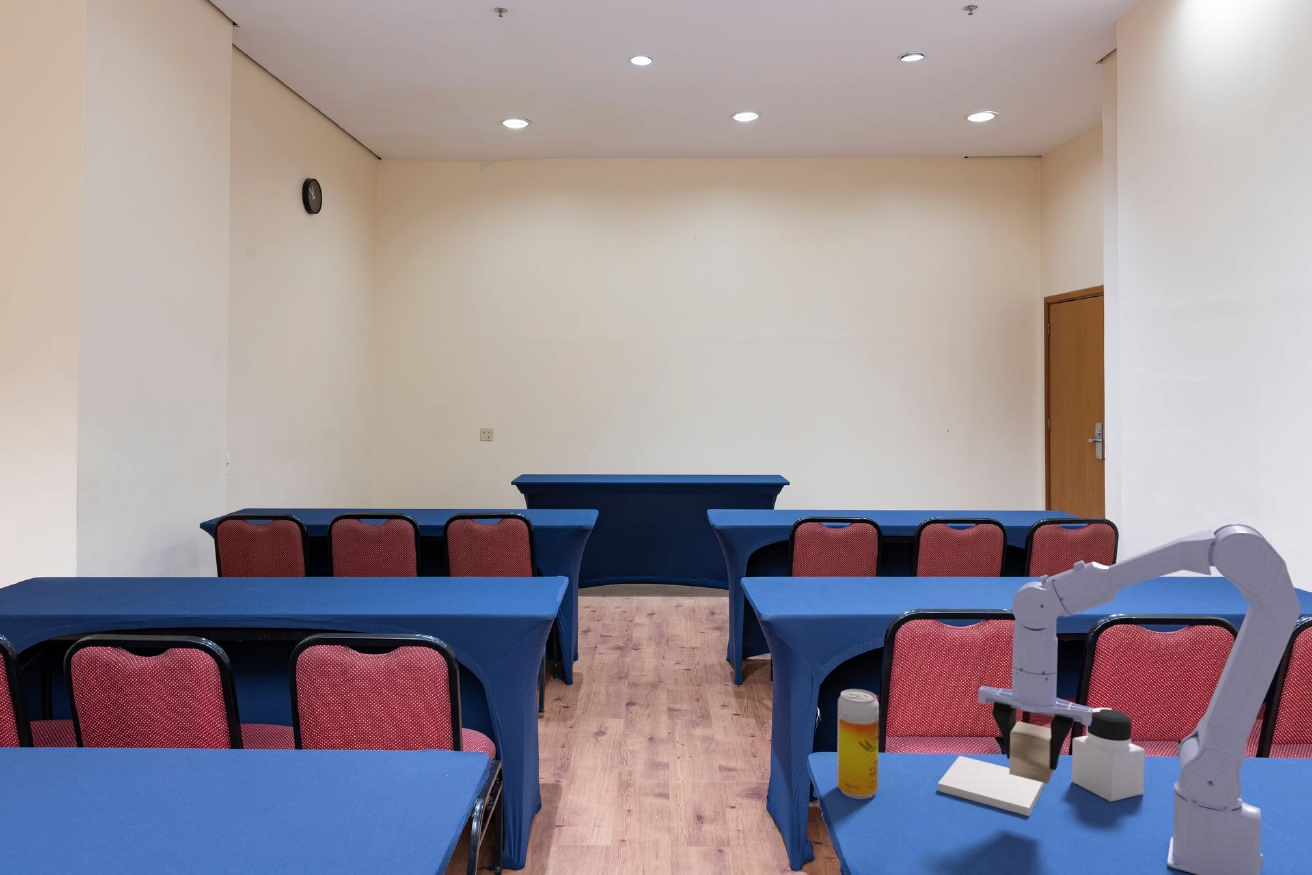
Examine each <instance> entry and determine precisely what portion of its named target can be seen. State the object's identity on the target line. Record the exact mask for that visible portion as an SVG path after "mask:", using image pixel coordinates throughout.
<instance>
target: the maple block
mask: <svg viewBox="0 0 1312 875" xmlns="http://www.w3.org/2000/svg"><path fill="white" fill-rule="evenodd" d="M1050 755H1051V727H1046V726H1041V725H1037V724H1033V723H1027V722H1024V721H1016V723H1015V726H1014V728H1013V729H1012V731H1011V732H1010V759H1009V767H1008V768H1009V774H1011V775H1015V776H1019V777H1023V778H1027V779H1031V780H1035V781H1039V782H1043V783H1045V784H1047V785H1048V784H1049V783H1050V781H1051V778H1052V777H1053V774H1054V772H1055V770H1052V769H1050Z"/></svg>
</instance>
